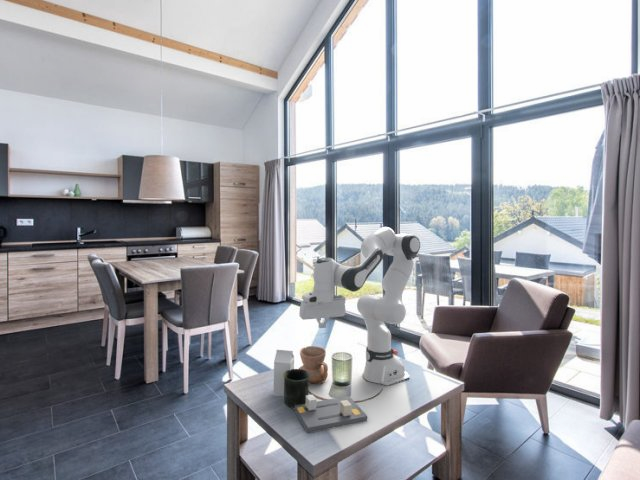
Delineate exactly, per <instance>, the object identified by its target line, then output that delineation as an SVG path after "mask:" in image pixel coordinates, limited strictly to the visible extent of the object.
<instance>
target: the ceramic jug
mask: <svg viewBox="0 0 640 480" xmlns="http://www.w3.org/2000/svg"><path fill="white" fill-rule="evenodd" d="M326 354H327V351H326V349H325V348H324V347H320V346H314V345H309V346H305V347H302V348H300V349H299V355H300V360H301V363H302V365H301V366H299V367H298V369H302V370H305V371H307V372H308V373H309V374H310V378H309V385H318V384H321V383H324V382H325V381H326V380H327V378H328V376H329V374H328V371H329V370H328V369H329V368H328V364H327V363H326V362H325V358H326Z"/></svg>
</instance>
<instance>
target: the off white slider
mask: <svg viewBox="0 0 640 480" xmlns="http://www.w3.org/2000/svg"><path fill="white" fill-rule="evenodd" d="M316 402H317V397H315V396H314V394H308V395H307V396H306V407H307V408H308V410H315V409H316Z"/></svg>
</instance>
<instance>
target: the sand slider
mask: <svg viewBox="0 0 640 480" xmlns="http://www.w3.org/2000/svg"><path fill="white" fill-rule="evenodd" d="M351 408H352V405H351V404H350V403H349V401H348V400H343V401H340V412H341V413H342V414H343V416H349V415H351Z"/></svg>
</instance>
